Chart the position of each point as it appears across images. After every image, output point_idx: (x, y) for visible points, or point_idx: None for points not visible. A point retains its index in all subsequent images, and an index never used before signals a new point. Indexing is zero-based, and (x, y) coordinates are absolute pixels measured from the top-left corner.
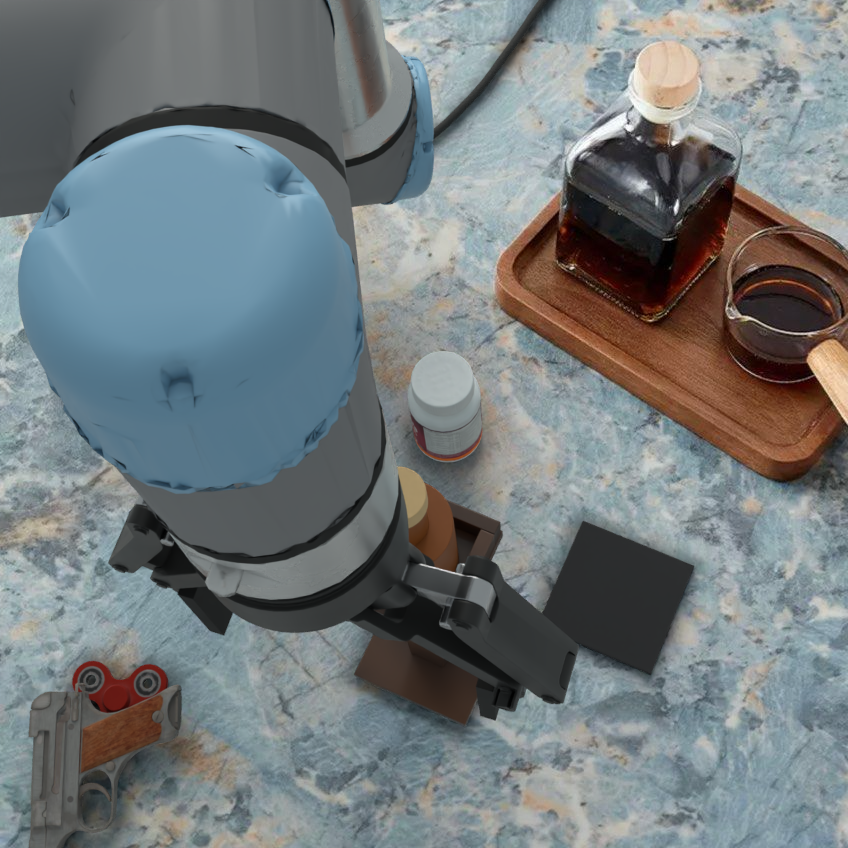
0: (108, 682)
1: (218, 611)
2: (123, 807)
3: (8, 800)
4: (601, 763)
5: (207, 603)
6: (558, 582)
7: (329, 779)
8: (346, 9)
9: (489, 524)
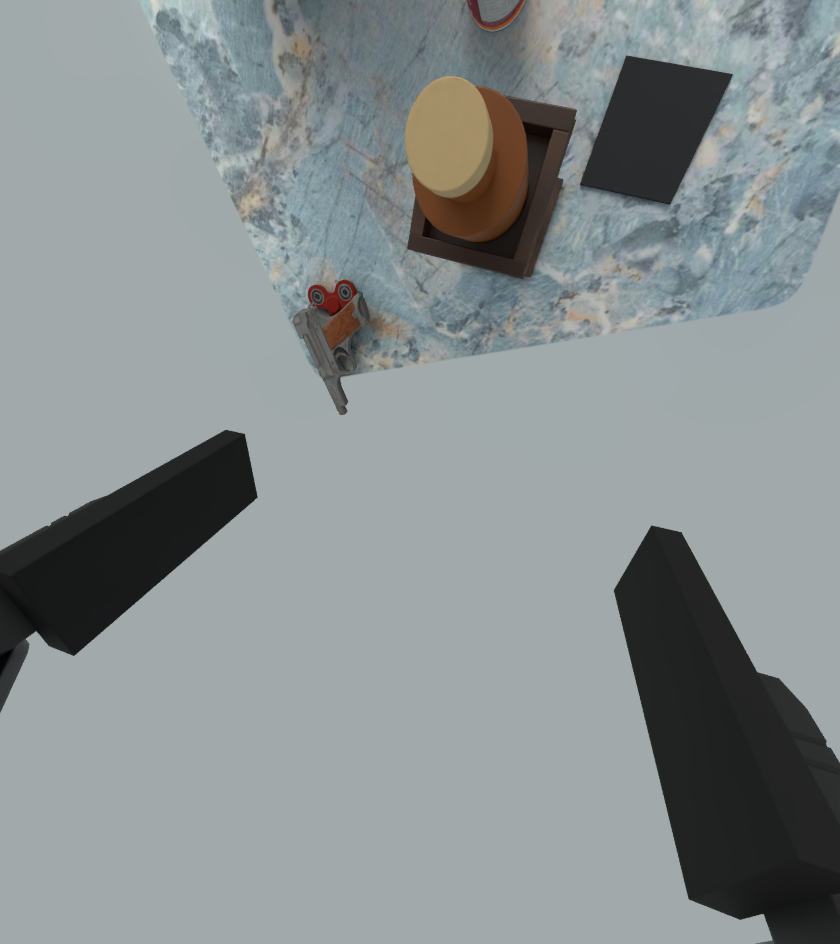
0: (326, 296)
1: (206, 523)
2: (358, 358)
3: (309, 363)
4: (622, 282)
5: (152, 574)
6: (599, 136)
7: (454, 325)
8: None
9: (563, 118)
